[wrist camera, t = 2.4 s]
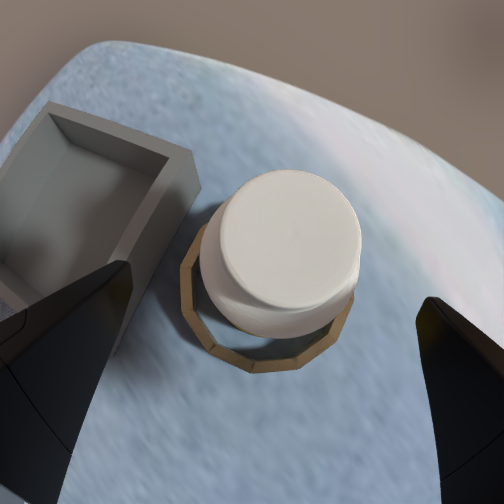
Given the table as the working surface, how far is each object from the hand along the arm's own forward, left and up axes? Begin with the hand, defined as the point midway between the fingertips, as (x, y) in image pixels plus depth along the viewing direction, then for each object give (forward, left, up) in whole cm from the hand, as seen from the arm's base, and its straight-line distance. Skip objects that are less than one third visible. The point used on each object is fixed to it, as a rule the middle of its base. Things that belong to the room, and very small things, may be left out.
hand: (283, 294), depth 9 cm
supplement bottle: (+1, 0, -9) cm, 10 cm away
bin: (-1, +12, -9) cm, 16 cm away
